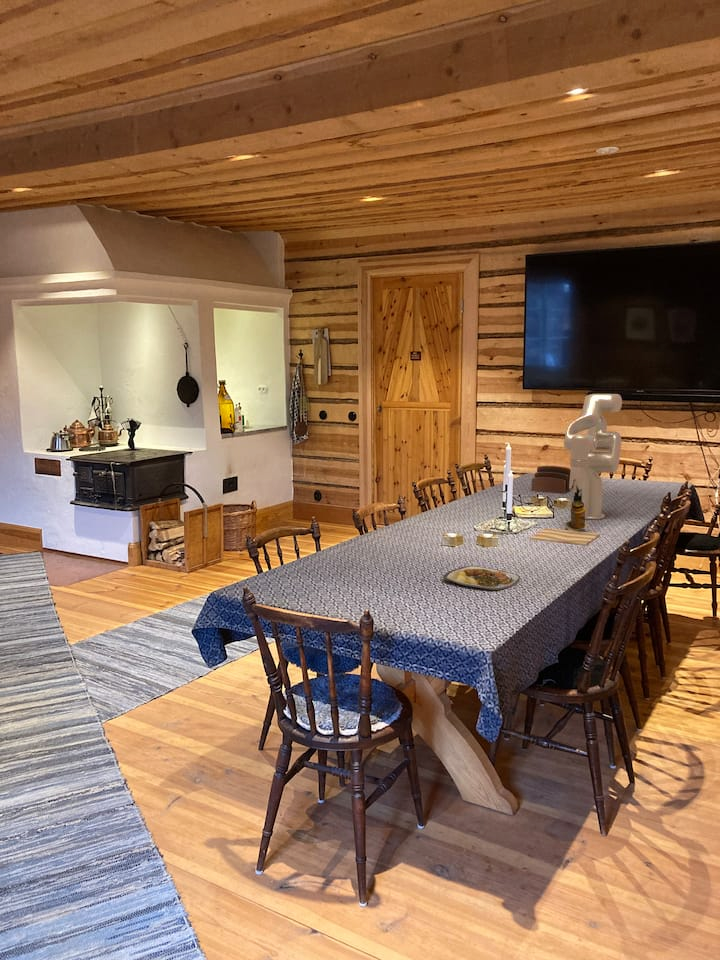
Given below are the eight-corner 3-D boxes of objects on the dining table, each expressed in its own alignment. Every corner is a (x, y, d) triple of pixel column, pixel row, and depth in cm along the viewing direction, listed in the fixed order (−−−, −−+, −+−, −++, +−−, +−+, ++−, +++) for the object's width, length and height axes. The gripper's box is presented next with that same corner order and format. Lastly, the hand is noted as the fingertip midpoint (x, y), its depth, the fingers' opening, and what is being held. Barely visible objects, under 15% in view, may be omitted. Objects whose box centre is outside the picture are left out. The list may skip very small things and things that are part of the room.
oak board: (545, 529, 346) (545, 528, 346) (599, 535, 333) (599, 533, 333) (529, 539, 329) (529, 537, 329) (586, 545, 317) (586, 543, 317)
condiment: (588, 527, 341) (588, 505, 335) (570, 532, 341) (570, 510, 334) (581, 518, 347) (581, 497, 341) (563, 523, 347) (563, 501, 340)
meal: (498, 596, 256) (498, 589, 255) (433, 582, 271) (433, 575, 270) (531, 578, 275) (531, 571, 275) (469, 566, 290) (469, 559, 290)
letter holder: (537, 488, 451) (537, 464, 449) (570, 491, 440) (571, 466, 438) (531, 491, 443) (531, 467, 440) (565, 494, 432) (565, 469, 430)
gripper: (575, 462, 349) (573, 502, 351) (565, 464, 336) (563, 506, 338) (592, 462, 345) (590, 503, 347) (582, 465, 332) (581, 507, 334)
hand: (577, 504), depth 343 cm, fingers closed
